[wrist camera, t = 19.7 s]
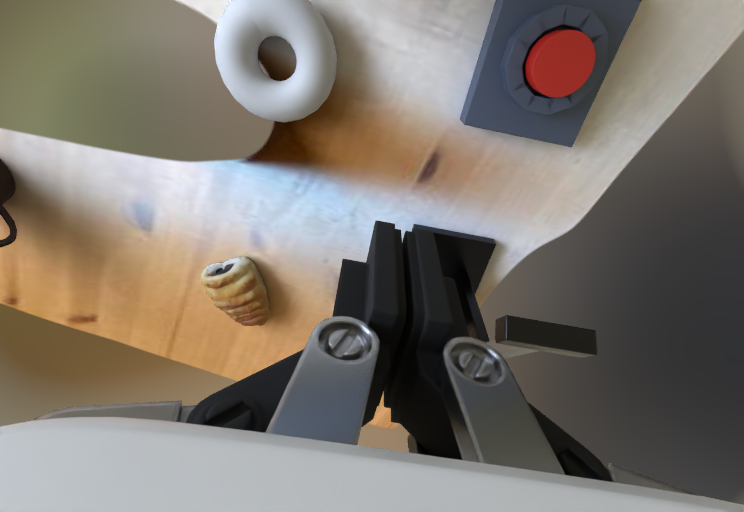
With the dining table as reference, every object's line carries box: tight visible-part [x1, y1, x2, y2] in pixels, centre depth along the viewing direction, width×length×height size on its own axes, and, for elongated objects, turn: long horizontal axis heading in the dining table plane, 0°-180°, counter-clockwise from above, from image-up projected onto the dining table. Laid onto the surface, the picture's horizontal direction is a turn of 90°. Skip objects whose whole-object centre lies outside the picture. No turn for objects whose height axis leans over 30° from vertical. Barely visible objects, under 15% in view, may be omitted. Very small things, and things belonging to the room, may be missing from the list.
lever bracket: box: [412, 224, 496, 342], centre depth 38 cm, size 12×9×15 cm
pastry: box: [200, 257, 270, 326], centre depth 44 cm, size 9×7×4 cm
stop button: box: [525, 30, 595, 97], centre depth 28 cm, size 4×4×2 cm
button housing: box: [460, 0, 641, 147], centre depth 30 cm, size 12×10×4 cm
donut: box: [214, 0, 337, 122], centre depth 31 cm, size 10×3×10 cm
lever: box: [486, 315, 597, 358], centre depth 27 cm, size 16×5×2 cm
